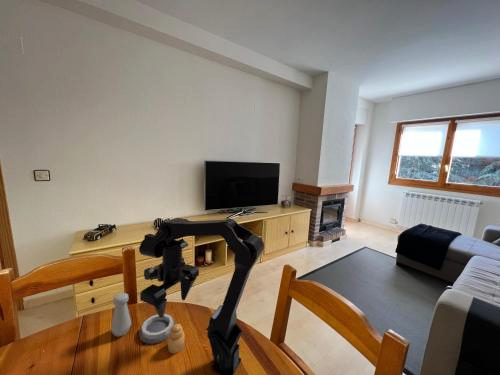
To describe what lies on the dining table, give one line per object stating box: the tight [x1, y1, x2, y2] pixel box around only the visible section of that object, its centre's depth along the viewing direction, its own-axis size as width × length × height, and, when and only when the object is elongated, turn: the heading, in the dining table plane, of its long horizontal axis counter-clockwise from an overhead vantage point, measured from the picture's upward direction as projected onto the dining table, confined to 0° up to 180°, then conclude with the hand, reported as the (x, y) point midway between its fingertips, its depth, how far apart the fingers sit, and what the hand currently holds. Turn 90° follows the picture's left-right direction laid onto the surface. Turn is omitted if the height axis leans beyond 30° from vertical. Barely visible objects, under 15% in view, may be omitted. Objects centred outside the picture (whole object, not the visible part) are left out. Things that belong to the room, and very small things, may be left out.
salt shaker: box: [110, 292, 132, 338], centre depth 70 cm, size 6×6×13 cm
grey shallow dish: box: [139, 313, 176, 345], centre depth 72 cm, size 11×11×2 cm
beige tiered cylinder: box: [167, 323, 185, 355], centre depth 66 cm, size 5×5×7 cm
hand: (173, 308), depth 66 cm, fingers open, 9 cm apart
